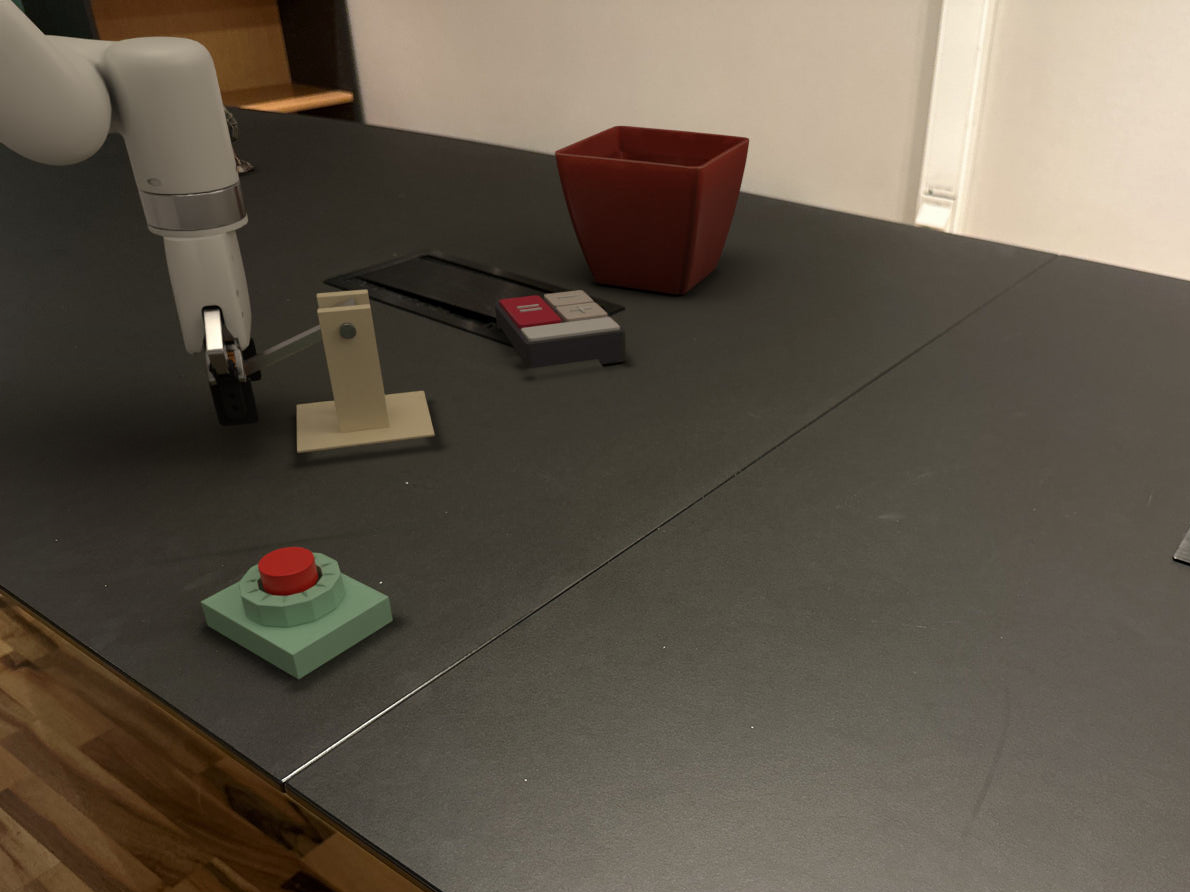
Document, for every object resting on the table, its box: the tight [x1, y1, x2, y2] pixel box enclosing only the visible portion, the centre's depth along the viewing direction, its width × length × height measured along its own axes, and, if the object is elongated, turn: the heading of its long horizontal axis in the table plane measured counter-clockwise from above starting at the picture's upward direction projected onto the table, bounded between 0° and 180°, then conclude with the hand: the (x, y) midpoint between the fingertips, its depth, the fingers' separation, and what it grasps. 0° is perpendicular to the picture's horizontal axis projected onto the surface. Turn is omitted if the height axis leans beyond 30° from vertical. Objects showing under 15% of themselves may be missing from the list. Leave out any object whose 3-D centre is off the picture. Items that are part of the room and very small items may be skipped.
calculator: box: [494, 289, 627, 369], centre depth 118 cm, size 11×4×15 cm
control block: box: [200, 552, 394, 680], centre depth 73 cm, size 10×8×4 cm
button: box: [257, 546, 318, 596], centre depth 72 cm, size 4×4×2 cm
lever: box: [228, 298, 357, 376], centre depth 94 cm, size 13×5×2 cm, turn 109°
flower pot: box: [554, 125, 750, 295], centre depth 135 cm, size 19×19×17 cm
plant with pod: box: [223, 104, 254, 174], centre depth 175 cm, size 8×11×20 cm
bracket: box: [296, 289, 436, 454], centre depth 96 cm, size 12×10×13 cm
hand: (242, 400), depth 95 cm, fingers open, 8 cm apart
